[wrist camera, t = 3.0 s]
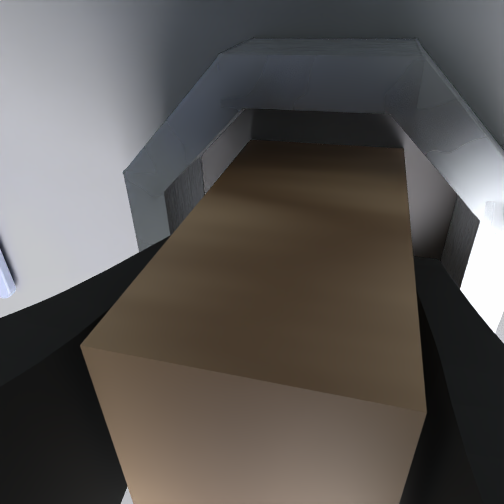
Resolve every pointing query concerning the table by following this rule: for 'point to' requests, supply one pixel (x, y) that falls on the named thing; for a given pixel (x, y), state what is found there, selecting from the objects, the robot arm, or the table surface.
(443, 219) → the table surface
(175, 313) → the peg
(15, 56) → the table surface
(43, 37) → the table surface
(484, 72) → the table surface
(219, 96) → the collar
